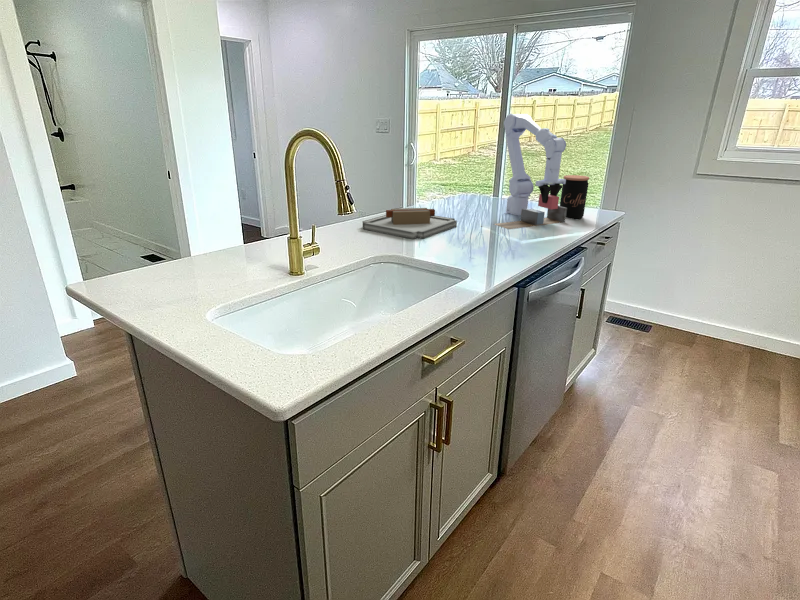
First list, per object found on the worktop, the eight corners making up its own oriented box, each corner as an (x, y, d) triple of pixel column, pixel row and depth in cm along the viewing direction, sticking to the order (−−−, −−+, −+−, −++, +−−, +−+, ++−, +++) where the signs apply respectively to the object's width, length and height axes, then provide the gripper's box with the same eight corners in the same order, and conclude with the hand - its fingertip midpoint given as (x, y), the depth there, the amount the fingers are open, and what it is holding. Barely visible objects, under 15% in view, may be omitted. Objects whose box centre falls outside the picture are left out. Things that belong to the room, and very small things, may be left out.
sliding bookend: (520, 220, 199) (521, 208, 197) (522, 220, 199) (523, 208, 197) (534, 225, 191) (536, 212, 189) (536, 224, 191) (538, 212, 189)
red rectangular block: (538, 205, 199) (539, 194, 197) (544, 205, 201) (545, 193, 199) (551, 209, 193) (552, 197, 191) (557, 208, 194) (559, 196, 192)
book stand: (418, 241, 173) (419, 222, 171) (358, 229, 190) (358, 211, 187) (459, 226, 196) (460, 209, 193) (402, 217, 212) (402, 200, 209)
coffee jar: (558, 219, 207) (563, 177, 200) (558, 214, 216) (563, 174, 209) (583, 220, 204) (590, 178, 197) (582, 215, 213) (588, 175, 206)
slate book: (523, 220, 199) (525, 209, 197) (530, 220, 200) (531, 208, 198) (536, 224, 192) (538, 212, 190) (543, 224, 194) (544, 212, 192)
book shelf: (493, 226, 194) (494, 209, 191) (548, 219, 206) (550, 203, 203) (508, 231, 186) (509, 214, 183) (565, 224, 198) (567, 207, 195)
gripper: (545, 171, 184) (541, 205, 190) (572, 169, 190) (568, 202, 195) (533, 169, 190) (529, 202, 196) (560, 167, 196) (556, 199, 201)
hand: (548, 202), depth 196 cm, fingers closed on red rectangular block, 3 cm apart
